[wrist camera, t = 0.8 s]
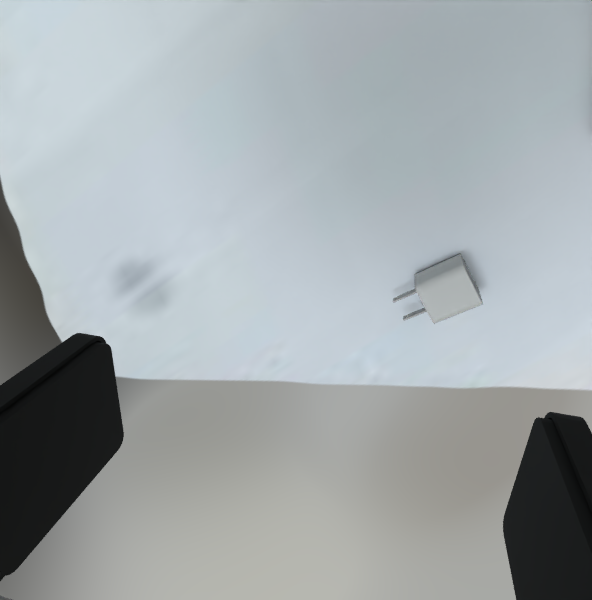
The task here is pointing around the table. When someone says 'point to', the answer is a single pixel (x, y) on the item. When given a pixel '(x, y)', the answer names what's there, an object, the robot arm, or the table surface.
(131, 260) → the table surface
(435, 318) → the usb wall charger
